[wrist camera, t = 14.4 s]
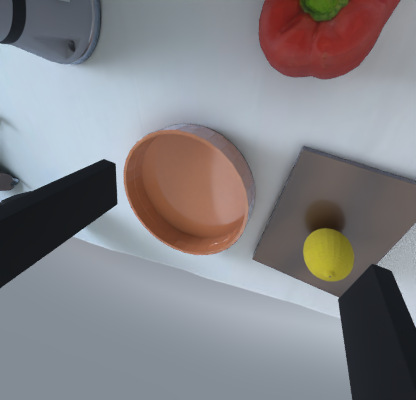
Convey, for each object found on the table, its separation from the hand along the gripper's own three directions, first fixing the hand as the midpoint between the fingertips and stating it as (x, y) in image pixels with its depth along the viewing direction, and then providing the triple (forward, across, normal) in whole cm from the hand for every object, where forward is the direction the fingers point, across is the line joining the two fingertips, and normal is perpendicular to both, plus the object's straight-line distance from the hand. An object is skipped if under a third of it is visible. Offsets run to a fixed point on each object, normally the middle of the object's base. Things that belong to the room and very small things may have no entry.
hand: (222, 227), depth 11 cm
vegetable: (+22, +1, +11) cm, 25 cm away
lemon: (+20, +12, -11) cm, 25 cm away
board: (+21, +12, -10) cm, 26 cm away
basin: (+21, -9, -13) cm, 27 cm away
